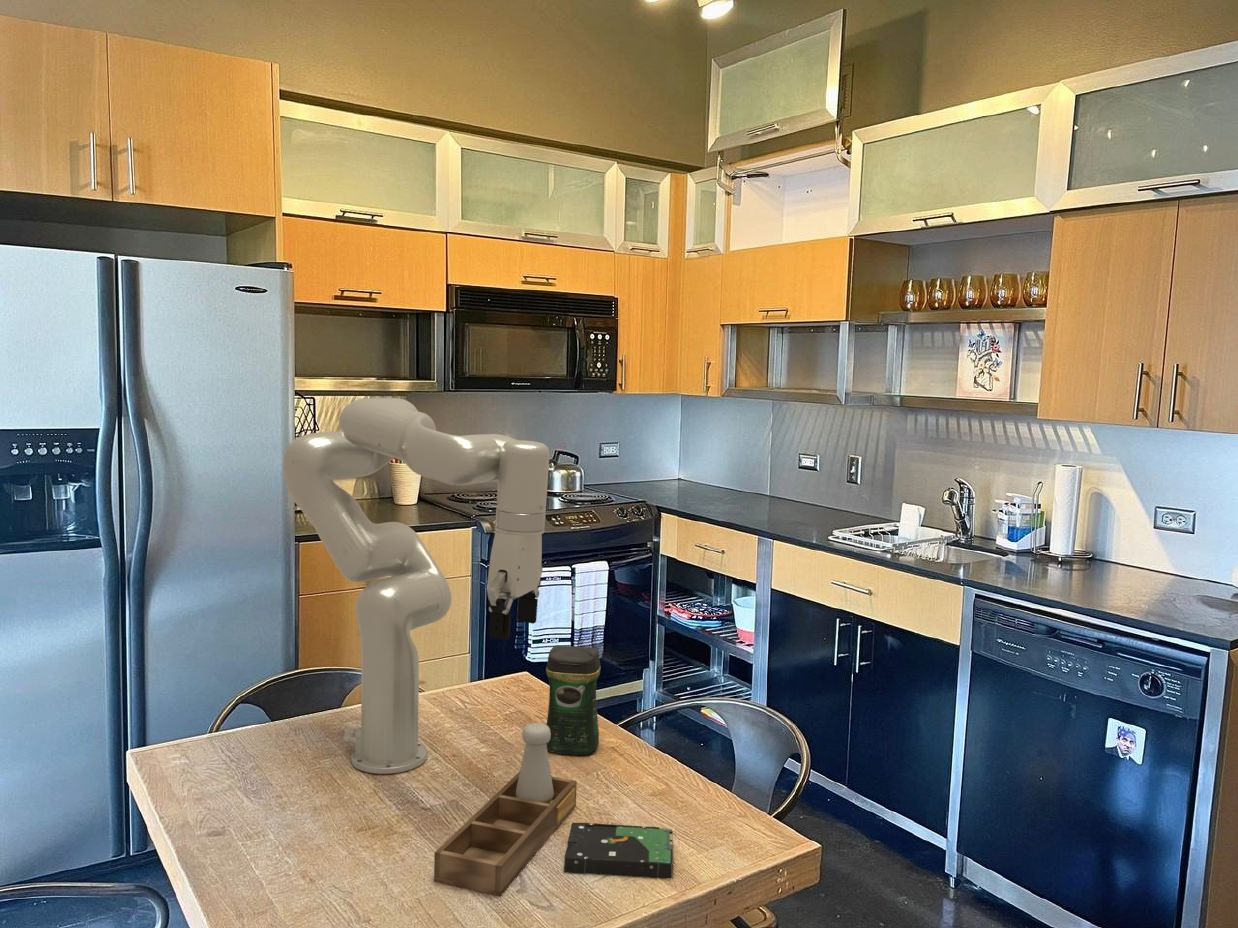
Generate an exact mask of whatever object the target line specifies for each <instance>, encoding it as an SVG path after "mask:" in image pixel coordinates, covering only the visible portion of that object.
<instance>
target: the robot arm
mask: <svg viewBox="0 0 1238 928" xmlns="http://www.w3.org/2000/svg"><path fill="white" fill-rule="evenodd" d="M338 425H339V430H340V431H322V432H313V433H308V434H304V435H301V436H299V437H297V438H295V439H294V440H293V441H291V442H290V443H289V444H288V445H287V447H286V449H285V452H284V454H283V458H282V474H283V479H284V483H285V485H286V488H287V490H288V493H289V495H290V497H291V498H292V500H293V501H294V502H295V505H296V506H298V508H299V510H301V512H302V513H303V514H304V516H305V517H306V518H307V519H308V521H309V522H310V523H311V525H312V527H313V528H314V529H315V532H316V533H317V535H318V537H319V539H320V541H321V542H322V544H323V546H324V547H325V549H326V550H327V552H328V554H329V556H330V558H331V559H332V560H333V563H334V564H335V566H336V568H337V569H338V571H339V573H341V576H343V577H344V578H345V579H346V580H348V581H350V582H353V583H354V582H355V583H360V582H368V581H373V580H376V581H374V582H372V583H370V584H368V585H367V586H365V587H364V588H363V589H362V590H361V592H360V593H359V594H358V597H357V598H356V602H355V617H356V622H357V626H358V627H357V628H358V632H359V639H360V653H361V654H360V655H361V664H360V665H361V666H360V668H361V699H360V700H361V701H360V705H361V707H360V711H361V712H360V721H361V723H360V725H361V727H360V728H358V727H351V726H350V727H349V726H347V728H346V729H345V730H344V735H343V737H342V743H344V744H348V745H351V744H352V745H354V746H355V747H354V748H355V749H354V750H353V752H352V753H351V764H352V766H353V767H355V769H358V770H359V771H362V772H365V773H368V774H369V773H370V774H376V775H377V774H378V775H387V774H388V775H389V774H399V773H403V772H407V771H411V770H414V769H415V768H418V767H419V766H421V765H423V763H425V762H426V760H427V757H428V756H427V755H428V749H427V747H426V746H425V745H424V744H423V743H420V742H419V691H420V687H419V686H420V685H419V684H420V683H419V679H420V675H419V674H420V659H419V657H420V656H419V654H418V653H419V652H418V650H417V647H416V645H415V643H414V641H413V640H412V637H411V634H410V632H411V631H412V630H415V629H417V628H420V627H425V626H427V625H430V624H433V623H436V622H438V621H440V620H442V619H443V618H444V617H445V616H446V615H447V614H448V613H449V611H450V609H451V606H452V592H451V589H450V585H449V583H448V582H447V580H446V577H445V576H444V574H443V572H442V571H441V569H440V567H439V566H438V565H437V563H436V561H435V559H434V558H433V557H432V555H431V553H430V551H429V550H428V548H427V547H426V545H425V543H424V542H423V540H422V539H421V538H420V536H419V535H418V534H417V532H416V531H415V530H414V529H413V528H412V527H410V526H409V525H408V524H405V523H402V522H398V521H388V522H381V523H375V522H372V521H371V520H370V519H369V518H368V516H367V515H366V514H365V512H364V511H363V509H362V507H361V506H360V504H359V502H358V501H357V500H356V499H355V498H354V497H353V496H352V495H351V494H350V493H348V491H346V490H345V489H344V488H342V487H340V486H339V485H337V484H336V483H335V481H334V480H344V479H354V478H355V479H356V478H362V477H368V476H370V475H373V474H374V473H376V472H378V471H379V470H381V469H382V468H383V467H384V466H385V465H387V464H388V463H390V462H391V461H392V460H393V459H397V460H400V461H403V462H404V463H405V465H406V466H407V467H408V468H409V469H410V471H412V472H413V473H415V474H417V475H419V476H421V477H425V478H427V479H431V480H434V481H437V482H440V483H444V484H446V485H451V486H467V485H473V484H482V483H483V484H486V483H492V482H493V483H495V482H497V494H496V496H497V498H496V509H495V526H494V530H495V533H494V537H493V541H492V546H491V552H490V559H489V565H488V566H489V567H488V575H487V586H486V591H487V592H486V593H487V597H488V600H487V604H488V606H489V607H488V611H489V625H488V626H489V627H488V637H490V638H494V639H499V640H505V641H507V640H509V639H510V637H511V636H510V635H511V634H510V633H511V621H512V614H511V613H510V610H511V607H512V604H513V602H514V600H516V599H517V612H516V620H517V622H523V623H527V624H532V625H533V624H536V622H537V619H538V618H537V615H538V613H537V612H538V602H539V601H538V598H539V597H540V590H539V588H540V586H541V583H542V581H541V578H542V574H543V566H542V562H543V561H542V560H543V559H542V557H543V555H542V554H543V550H542V549H543V548H542V547H543V545H542V544H543V543H542V542H543V541H542V539H543V538H542V537H543V536H542V534H544V533H545V528H546V527H545V526H546V513H547V511H546V509H547V496H548V484H549V482H548V481H549V469H550V450H549V447H548V446H547V445H546V444H544V443H542V442H540V441H539V442H538V441H533V440H522V439H521V440H520V439H519V440H518V439H517V438H513V437H510V436H508V435H503V434H497V433H487V434H482V433H481V434H480V433H479V434H467V435H465V434H464V435H454V434H450V433H449V434H448V433H445V432H441V431H438V430H437V428H436V423H435V422H434V420H433V418H432V417H430V415H428V414H427V413H425V412H421V411H419V410H418V409H417V408H416V406H415V405H414V404H413V403H411V401H408V400H406V399H403V398H399V397H364V398H359V399H356V400H354V401H353V400H352V401H351V402H349V403H348V404H346V406H344V408H343V409H342V411H341V412H340V414H339V419H338ZM386 577H387V578H386ZM382 578H383V579H382ZM377 579H378V580H377ZM502 599H503V600H505V602H504V601H503V600H502Z"/></svg>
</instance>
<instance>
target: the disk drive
mask: <svg viewBox="0 0 1238 928" xmlns="http://www.w3.org/2000/svg"><path fill="white" fill-rule="evenodd" d="M568 835H569V836H568V839H567V847H566V849H565V854H564V860H563V863H564V865H563V867H564V868H563V872H564V873H566V874H569V873H570V874H579V875H580V874H582V875H585V874H586V875H601V876H604V875H605V876H615V877H616V876H621V877H635V878H649V879H666V878H672V879H673V872H674V871H673V869H674V839H673V838H674V834H673V829H668V828H664V827H659V826H643V825H625V824H624V825H623V824H612V823H611V824H609V823H591V822H571V825H570V832H569V834H568ZM666 880H667V879H666Z"/></svg>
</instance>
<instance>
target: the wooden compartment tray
mask: <svg viewBox="0 0 1238 928" xmlns="http://www.w3.org/2000/svg"><path fill="white" fill-rule="evenodd" d="M519 773H520V771H518V772H517V773H516V774H515V775H514V776H512V777H511V779H510V780H509V781H508V782H507V783H506V784H505V785H504V786H502V787H501V788H500V790H499V791H497V792H496V793H495V794H494V795H493V796H491V798H490V799H489V800H487V802H485V804H484V805H482V806H481V808H479V809H478V810H477V811H476V812H475V813H474V814H473V815H472V816H471V817H470V818H469V819H468V820H466V822H464V824H462V825H461V827H459V828H458V829H457V830H456V831H455V832H454V834H452V835H451V836H450V837H449V838H447V840H446V841H445V842H444V843H443V844H442V845H440V846H439V848H437V849H436V850H435V851H434V863H433V865H434V867H433V869H434V870H433V882H436V883H439V884H440V883H441V884H446V885H449V886H455V887H458V888H463V889H467V890H472V891H475V892H480V893H485V894H490V895H493V896H499V897H501V896H503V894H504V893H505V891H506V890H508V888H509V887H510V886H511V884H512V883H513V882H514V880H515V879H516V878H518V876H519V874H520V873H521V872H522V871H523V870H524V869H525V868H526V866H527V865H528V864H529V863H530V862H531V860H532V859H533V858H534V856H535V855H536V854H537V853H538V852H539V850H540V849H541V848H542V847H543V846H544V845H545V843H546V842H547V841H548V840H549V838H550V837H552V835H553V833H555V831H556V830H557V829H558V828H559V827H560V826H561V824H562V823H563V822H564V821H565V820H566V818H567V817H568V815H570V813H572V811H573V810H574V809H575V807H576V806H577V785H578V784H577V780H574V779H569V778H562V777H558V776H552V775H551V778H552V784H553V790H554V797H553V799H552V800H551V802H550V804H547V803H542V802H537V801H531V800H526V799H521V798H517V797H516V788H517V783H518V778H519Z"/></svg>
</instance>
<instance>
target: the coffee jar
mask: <svg viewBox="0 0 1238 928" xmlns="http://www.w3.org/2000/svg"><path fill="white" fill-rule="evenodd" d="M545 668H546V669H545V672H546V675H547V679H548V684H549V692H548V693H549V694H548V696H549V698H548V709H547V716H546V717H547V718H546V725H547V726H548V727H549V728H550V732H551V738H550V741H549V742H548V743H546V745H547V751H549V752H552V753H558V754H563V755H564V754H566V755H579V756H580V755H589V754H591V753H592V752H595V751H596V750H597V749H598V747H599V744H600V741H599V740H600V737H599V735H600V731H599V730H600V729H599V720H598V718H599V717H598V709H597V706H598V705H597V681H598V679H599V677H600V675H601V661H600V653H599V649H598V648H597V647H585V646H584V647H583V646H570V645H560V644H559V645H558V644H556V645H554V646H553V647H552V648H551V649H550V650H549V652H548V656H547V663H546V667H545Z"/></svg>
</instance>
